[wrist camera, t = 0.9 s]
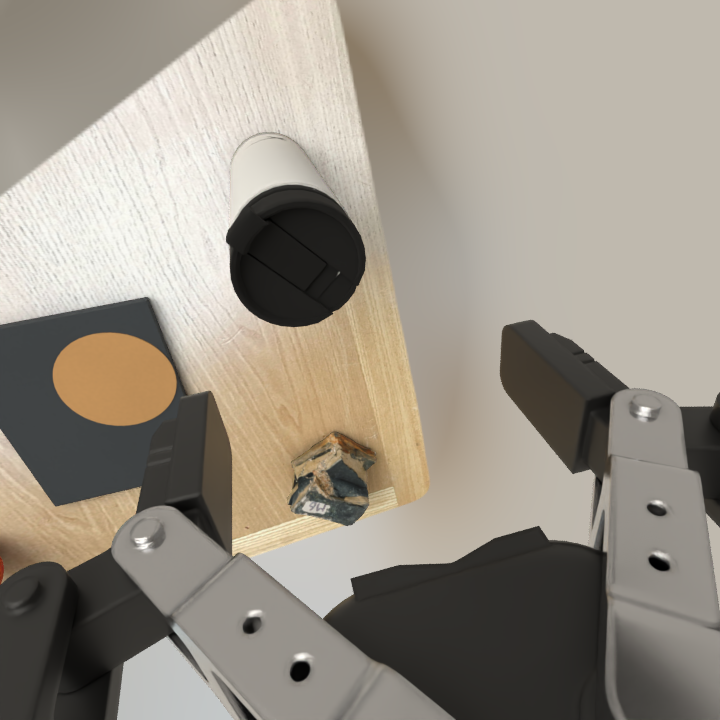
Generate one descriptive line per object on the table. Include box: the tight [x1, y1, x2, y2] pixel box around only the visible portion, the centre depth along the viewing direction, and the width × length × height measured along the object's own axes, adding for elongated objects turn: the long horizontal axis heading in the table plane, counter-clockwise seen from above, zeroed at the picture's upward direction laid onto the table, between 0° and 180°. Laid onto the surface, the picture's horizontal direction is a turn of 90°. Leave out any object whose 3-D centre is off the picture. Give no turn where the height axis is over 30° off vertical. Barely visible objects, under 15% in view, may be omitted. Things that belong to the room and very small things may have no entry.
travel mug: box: [226, 132, 366, 327], centre depth 29 cm, size 6×7×20 cm
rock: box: [287, 432, 377, 526], centre depth 53 cm, size 9×9×6 cm
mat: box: [0, 297, 187, 506], centre depth 45 cm, size 20×16×1 cm
